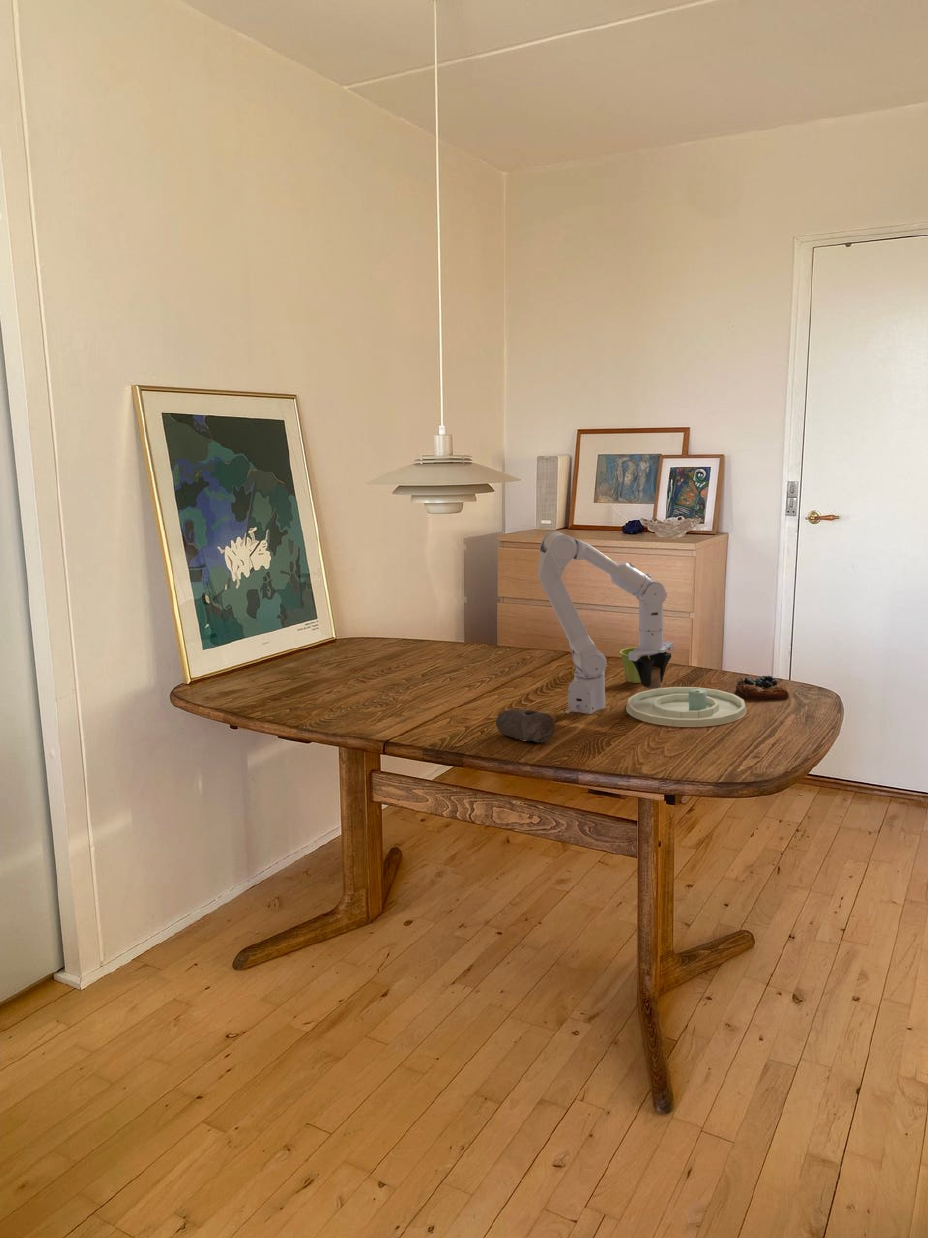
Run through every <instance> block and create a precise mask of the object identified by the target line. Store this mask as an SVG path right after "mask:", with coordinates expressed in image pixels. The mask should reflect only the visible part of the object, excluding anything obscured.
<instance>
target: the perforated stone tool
mask: <svg viewBox="0 0 928 1238" xmlns="http://www.w3.org/2000/svg"><path fill="white" fill-rule="evenodd" d="M495 726H496V728H497V730H498V731H499V732H500V733H501V734H502V735H504V736H505V735H506V737H507V736H509V737H508V738H513V737H514V738H517V739H521V740H526V741H528V742H534V743H535V742H537V743H536V744H540V743H539V742H541V743H543V742H548V741H549V740H550V739H551V738H552V737H553V736H554V734H555V723H554V718H553V717H552V716H551V715H550V714H548V713H545V712H541V711H537V710H531V709H530V710H529V709H508V710H504V711H502V712H500V713H498V715H497V718H496V720H495ZM514 738H513V739H514ZM542 741H543V742H542Z"/></svg>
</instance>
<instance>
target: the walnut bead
mask: <svg viewBox="0 0 928 1238" xmlns="http://www.w3.org/2000/svg"><path fill="white" fill-rule="evenodd" d="M643 688H645V689H649V690H651V689H658V688H662V687H661V683H660V668H659V667H652V672H651V684H650V686H649V687H646V686H643Z"/></svg>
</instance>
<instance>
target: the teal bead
mask: <svg viewBox="0 0 928 1238" xmlns="http://www.w3.org/2000/svg"><path fill="white" fill-rule="evenodd" d="M702 709H707V692H706V691H705V690H701V689H694V690H690V691H689V711H697V710H702Z"/></svg>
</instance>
